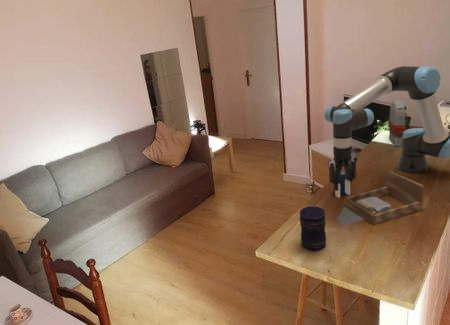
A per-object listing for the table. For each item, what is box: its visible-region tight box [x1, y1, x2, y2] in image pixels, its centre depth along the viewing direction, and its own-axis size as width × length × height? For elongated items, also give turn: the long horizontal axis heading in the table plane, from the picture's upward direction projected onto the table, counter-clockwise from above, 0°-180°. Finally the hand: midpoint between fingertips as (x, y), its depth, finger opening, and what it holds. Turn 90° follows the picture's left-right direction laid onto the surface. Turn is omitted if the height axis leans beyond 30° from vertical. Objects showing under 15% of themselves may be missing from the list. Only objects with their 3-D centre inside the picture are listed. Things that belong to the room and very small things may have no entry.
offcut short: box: [356, 199, 373, 212], centre depth 156 cm, size 3×8×2 cm, turn 16°
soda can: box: [333, 169, 347, 197], centre depth 176 cm, size 7×7×12 cm
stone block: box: [363, 197, 392, 214], centre depth 159 cm, size 12×5×10 cm
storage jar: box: [299, 206, 327, 252], centre depth 137 cm, size 10×10×15 cm
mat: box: [336, 205, 366, 226], centre depth 158 cm, size 11×16×1 cm
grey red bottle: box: [388, 99, 406, 147], centre depth 234 cm, size 19×6×30 cm, turn 168°
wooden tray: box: [343, 170, 425, 226], centre depth 158 cm, size 26×20×12 cm
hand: (342, 194), depth 155 cm, fingers open, 4 cm apart
